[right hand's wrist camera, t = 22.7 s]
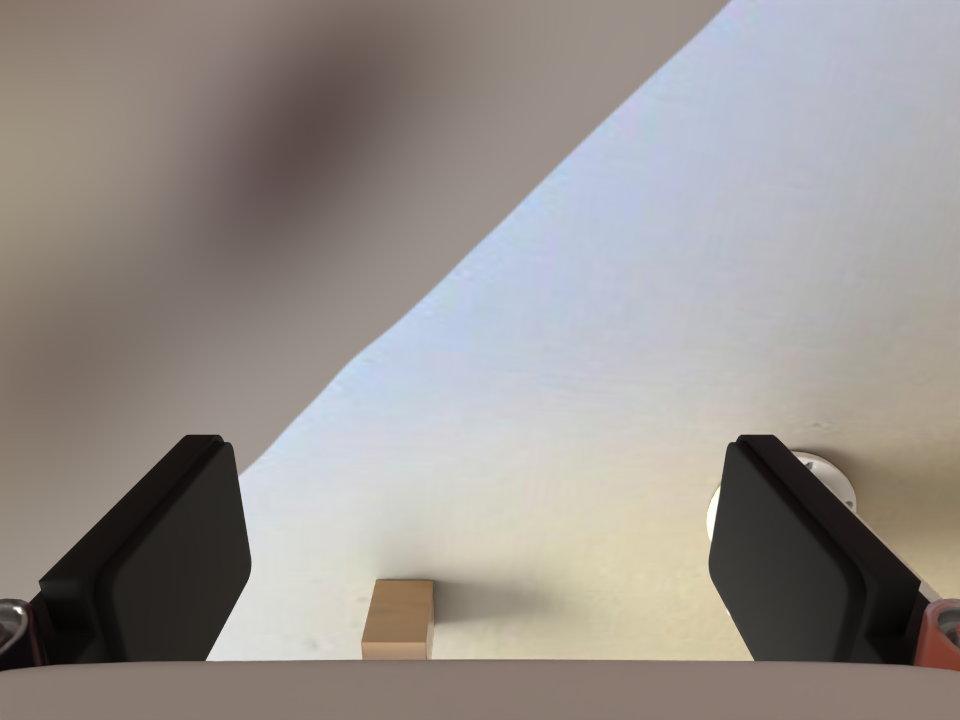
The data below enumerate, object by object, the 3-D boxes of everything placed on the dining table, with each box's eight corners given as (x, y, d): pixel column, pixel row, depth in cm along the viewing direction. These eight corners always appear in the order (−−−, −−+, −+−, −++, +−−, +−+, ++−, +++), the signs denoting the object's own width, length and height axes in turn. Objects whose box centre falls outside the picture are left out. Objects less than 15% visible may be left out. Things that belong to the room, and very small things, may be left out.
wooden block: (434, 625, 57) (428, 691, 50) (379, 625, 57) (365, 691, 50) (432, 579, 55) (426, 642, 48) (375, 579, 55) (360, 642, 48)
